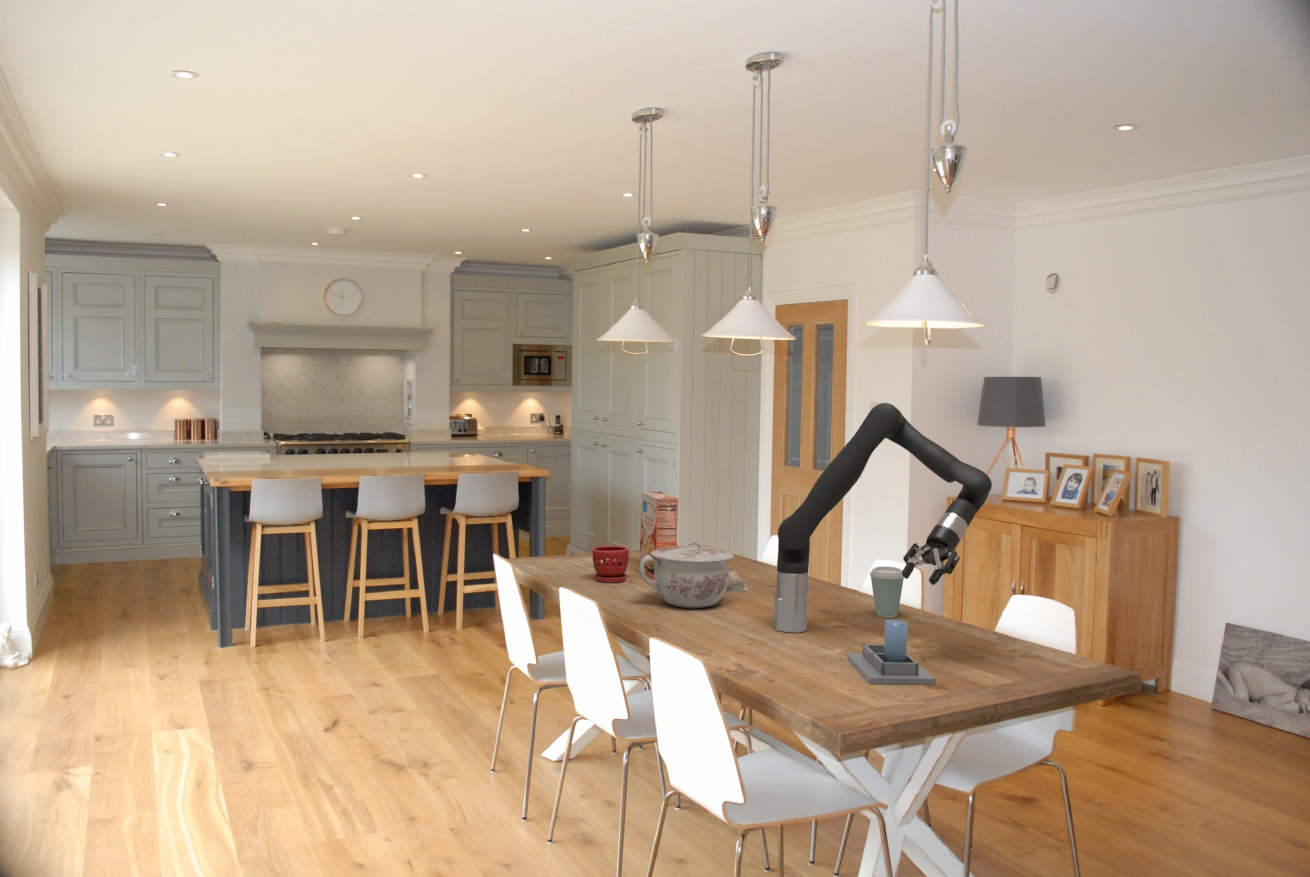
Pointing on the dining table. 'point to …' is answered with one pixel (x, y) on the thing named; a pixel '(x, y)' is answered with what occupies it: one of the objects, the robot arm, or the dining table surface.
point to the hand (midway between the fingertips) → (917, 579)
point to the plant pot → (610, 563)
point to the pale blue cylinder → (895, 641)
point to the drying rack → (888, 668)
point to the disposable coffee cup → (887, 590)
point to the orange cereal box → (657, 525)
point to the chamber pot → (689, 574)
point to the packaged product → (736, 582)
